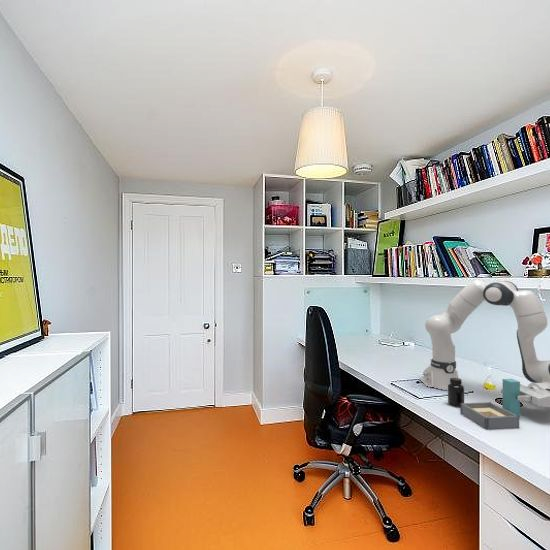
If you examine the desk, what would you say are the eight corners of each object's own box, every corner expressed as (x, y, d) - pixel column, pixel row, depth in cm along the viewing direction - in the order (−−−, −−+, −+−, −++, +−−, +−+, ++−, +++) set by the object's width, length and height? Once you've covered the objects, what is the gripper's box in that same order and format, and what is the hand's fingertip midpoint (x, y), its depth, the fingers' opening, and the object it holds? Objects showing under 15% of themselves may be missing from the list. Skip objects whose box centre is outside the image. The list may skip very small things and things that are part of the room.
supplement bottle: (459, 402, 168) (459, 376, 168) (467, 407, 161) (467, 381, 161) (444, 402, 168) (444, 376, 168) (452, 407, 161) (452, 381, 161)
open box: (460, 413, 154) (460, 403, 154) (490, 412, 155) (490, 402, 155) (486, 429, 138) (486, 418, 138) (519, 427, 140) (519, 416, 140)
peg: (502, 413, 154) (502, 379, 154) (511, 413, 155) (511, 378, 155) (510, 417, 150) (510, 382, 150) (519, 417, 150) (519, 381, 150)
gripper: (519, 378, 164) (491, 379, 162) (559, 393, 144) (528, 394, 142) (519, 392, 164) (491, 393, 162) (559, 409, 144) (528, 410, 142)
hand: (509, 394), depth 152 cm, fingers open, 7 cm apart
